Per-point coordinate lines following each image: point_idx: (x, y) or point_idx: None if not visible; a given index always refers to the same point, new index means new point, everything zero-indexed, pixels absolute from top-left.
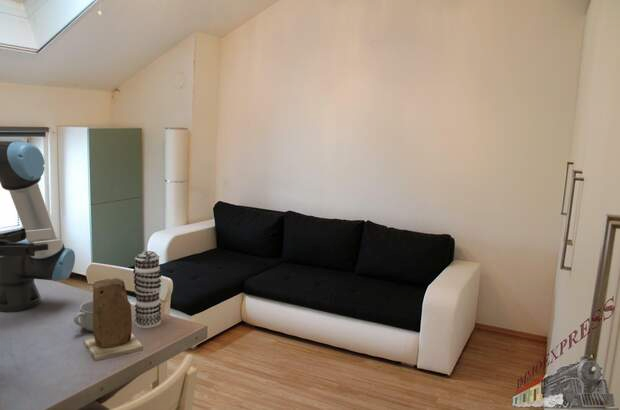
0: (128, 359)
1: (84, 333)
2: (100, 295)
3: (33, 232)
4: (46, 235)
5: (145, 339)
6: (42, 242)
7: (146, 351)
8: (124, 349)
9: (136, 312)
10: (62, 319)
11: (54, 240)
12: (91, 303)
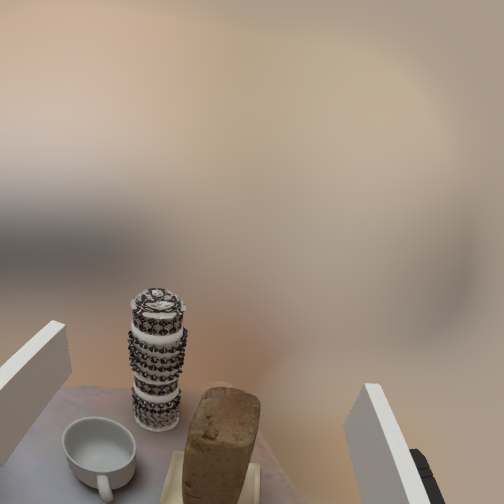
0: (282, 495)
1: None
2: (251, 452)
3: (7, 397)
4: (56, 373)
5: None
6: (411, 464)
7: (267, 466)
8: (255, 489)
9: (153, 413)
10: (15, 473)
11: (389, 407)
12: (67, 436)
